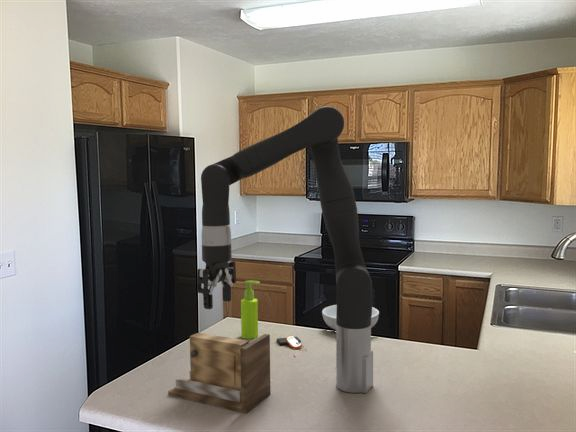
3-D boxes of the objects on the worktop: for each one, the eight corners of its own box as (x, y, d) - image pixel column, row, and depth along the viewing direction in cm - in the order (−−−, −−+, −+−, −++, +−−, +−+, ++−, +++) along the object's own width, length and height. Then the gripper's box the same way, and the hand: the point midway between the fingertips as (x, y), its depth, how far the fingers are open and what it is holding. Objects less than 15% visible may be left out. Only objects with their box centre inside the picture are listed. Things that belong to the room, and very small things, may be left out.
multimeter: (324, 357, 162) (324, 347, 162) (287, 360, 160) (286, 350, 159) (309, 340, 180) (309, 330, 179) (276, 342, 177) (276, 332, 177)
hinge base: (270, 394, 135) (269, 334, 133) (246, 413, 124) (245, 349, 123) (196, 378, 145) (194, 323, 144) (168, 395, 135) (166, 335, 133)
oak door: (252, 394, 132) (251, 341, 131) (242, 402, 128) (241, 347, 127) (198, 382, 140) (197, 332, 139) (187, 389, 135) (185, 338, 134)
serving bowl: (313, 324, 196) (313, 306, 195) (362, 318, 203) (362, 301, 203) (337, 341, 176) (337, 321, 176) (390, 334, 184) (390, 315, 183)
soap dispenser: (258, 339, 179) (257, 283, 177) (239, 338, 180) (238, 282, 178) (262, 334, 184) (261, 279, 183) (244, 333, 186) (243, 278, 184)
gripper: (212, 247, 123) (214, 313, 125) (243, 239, 136) (244, 300, 137) (187, 245, 127) (189, 309, 128) (219, 238, 139) (221, 297, 141)
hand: (218, 304), depth 133 cm, fingers open, 8 cm apart
